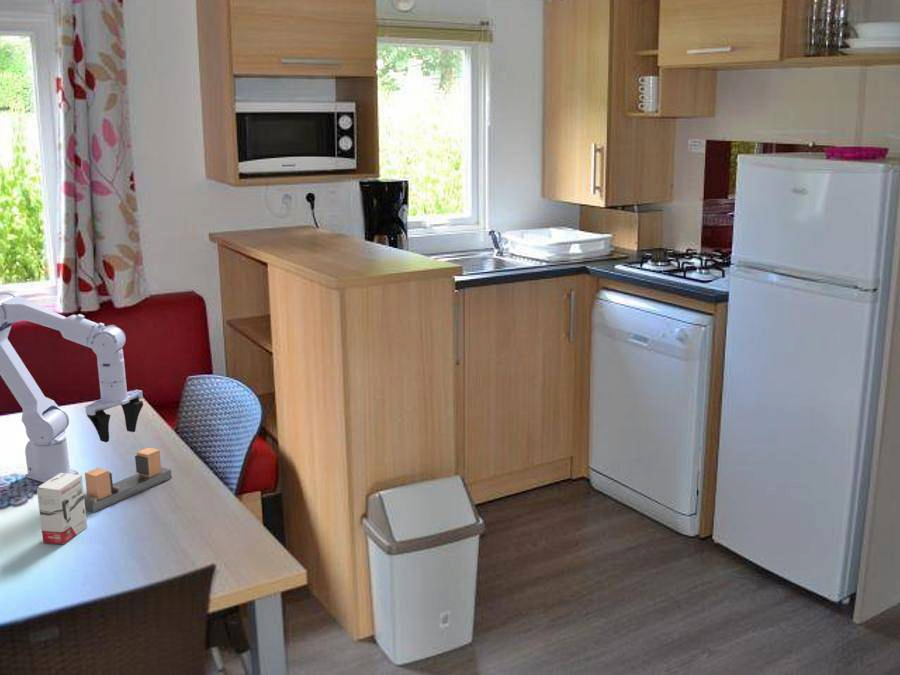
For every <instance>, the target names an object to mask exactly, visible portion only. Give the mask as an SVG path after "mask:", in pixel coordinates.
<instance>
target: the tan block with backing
mask: <svg viewBox="0 0 900 675" xmlns="http://www.w3.org/2000/svg"><path fill="white" fill-rule="evenodd" d="M84 479H85V480H84V481H85V489H86V490H85V491H86V494H87V495H90V496H94V497H97V500H99V499H102V498H104V497H106V496H109V495H111V491H112V490H113V484H114V483H113V474H112V472H110V471H109V470H108V469H104V468H100V467H97V468H93V469H92V470H88V471H86V472H85V473H84Z"/></svg>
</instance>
